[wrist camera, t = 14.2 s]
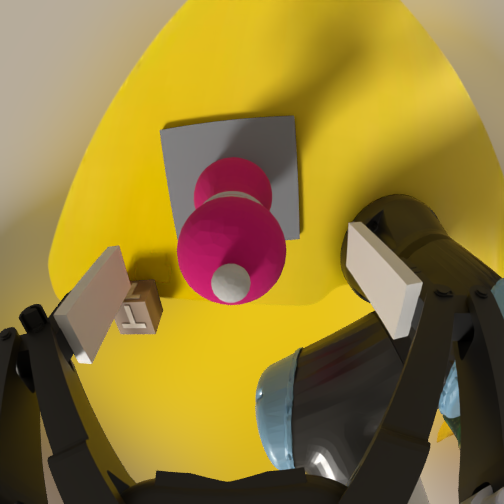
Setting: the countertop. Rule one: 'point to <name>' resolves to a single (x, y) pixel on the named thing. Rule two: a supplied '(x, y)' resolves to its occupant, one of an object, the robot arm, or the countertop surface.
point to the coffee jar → (454, 427)
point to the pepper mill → (232, 235)
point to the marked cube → (140, 309)
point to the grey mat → (234, 145)
